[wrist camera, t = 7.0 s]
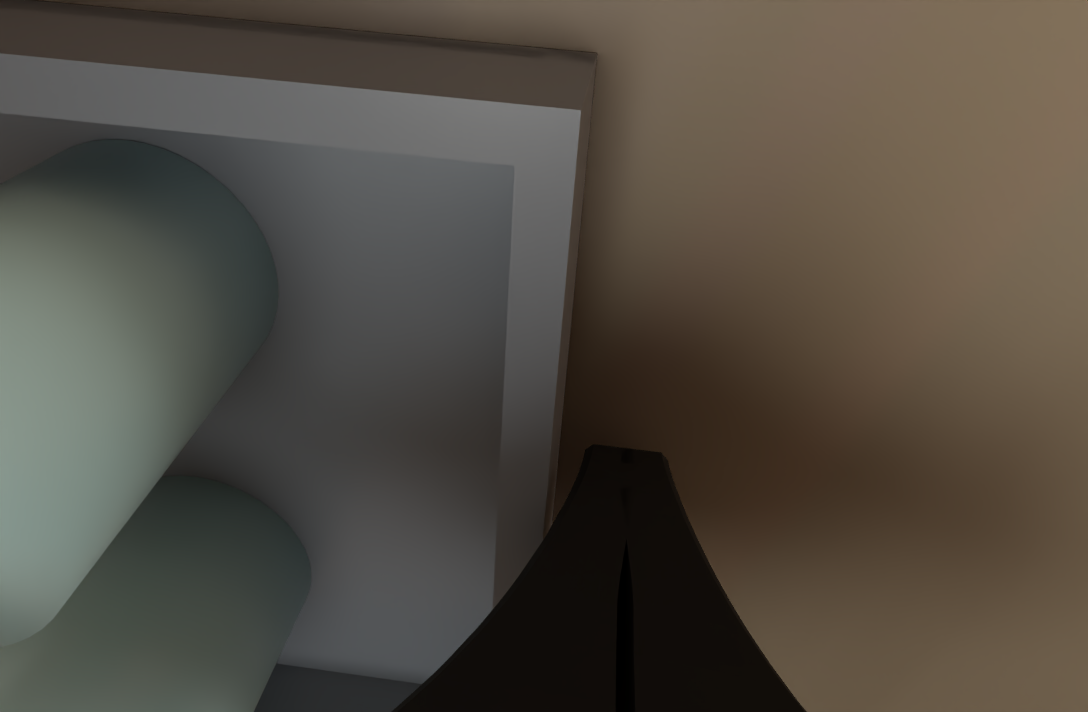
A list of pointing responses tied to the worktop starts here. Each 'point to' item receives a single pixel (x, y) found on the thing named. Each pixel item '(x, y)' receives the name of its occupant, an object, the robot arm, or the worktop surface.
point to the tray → (359, 298)
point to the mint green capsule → (110, 349)
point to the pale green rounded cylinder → (170, 611)
